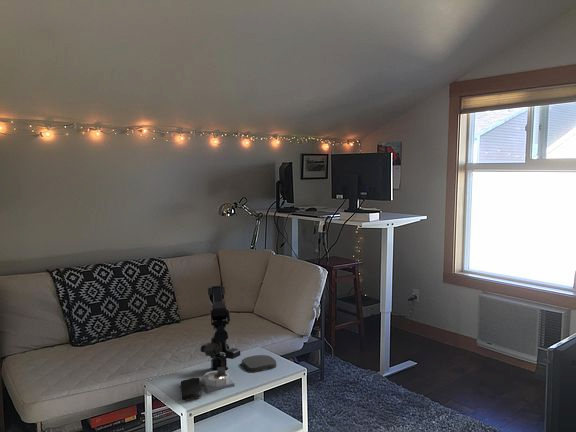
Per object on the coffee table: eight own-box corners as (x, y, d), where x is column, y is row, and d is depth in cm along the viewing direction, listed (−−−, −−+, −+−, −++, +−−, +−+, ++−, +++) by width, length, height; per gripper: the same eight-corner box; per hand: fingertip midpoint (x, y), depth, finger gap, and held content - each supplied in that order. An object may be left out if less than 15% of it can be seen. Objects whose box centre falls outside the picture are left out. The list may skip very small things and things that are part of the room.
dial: (224, 376, 226) (224, 363, 226) (226, 383, 218) (226, 369, 218) (206, 378, 224) (206, 365, 224) (207, 385, 217) (207, 371, 216)
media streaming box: (239, 363, 246) (239, 357, 246) (267, 358, 252) (266, 352, 252) (250, 373, 233) (250, 367, 233) (279, 368, 239) (278, 362, 239)
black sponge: (202, 400, 206) (202, 391, 206) (181, 402, 204) (181, 394, 204) (199, 384, 222) (199, 376, 222) (180, 387, 220) (179, 378, 220)
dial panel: (224, 376, 230) (223, 367, 229) (234, 386, 219) (234, 376, 218) (198, 381, 224) (198, 372, 224) (208, 392, 213) (207, 382, 213)
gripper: (191, 336, 221) (192, 371, 222) (224, 343, 211) (225, 379, 212) (208, 329, 230) (209, 363, 231) (240, 336, 220) (241, 371, 221)
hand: (220, 369), depth 224 cm, fingers closed
